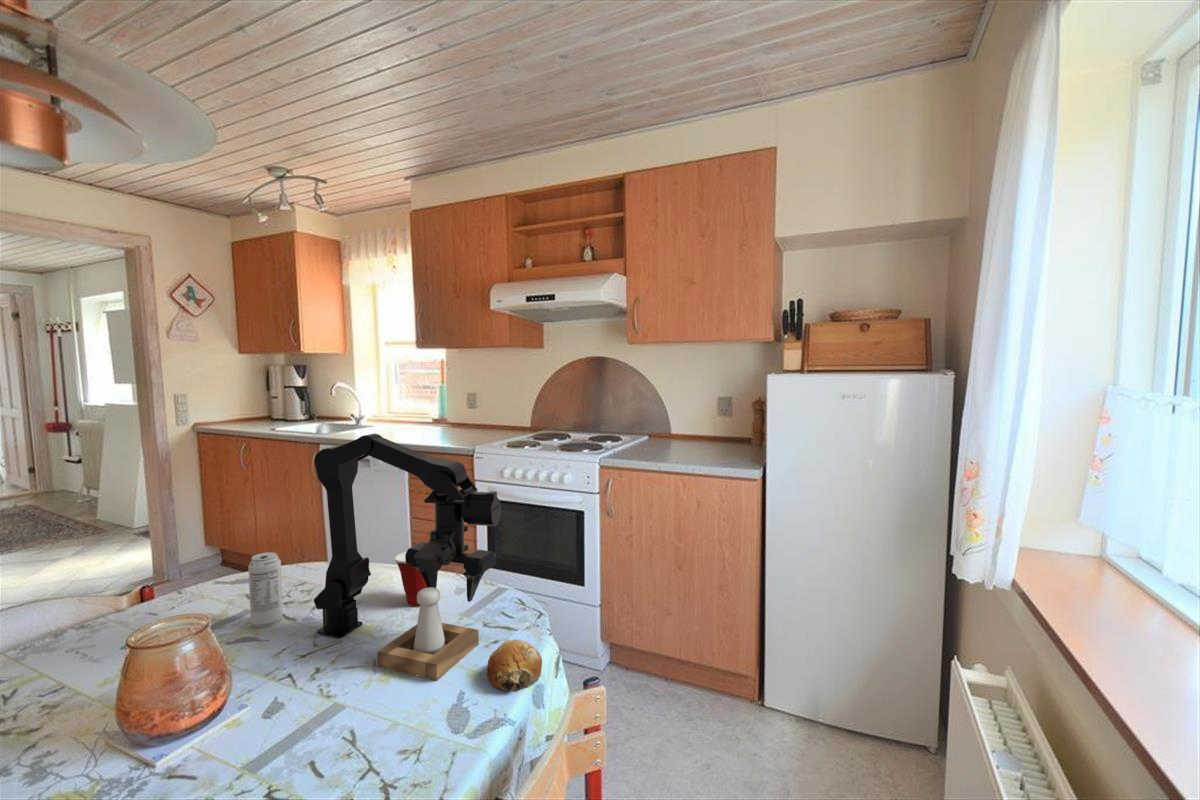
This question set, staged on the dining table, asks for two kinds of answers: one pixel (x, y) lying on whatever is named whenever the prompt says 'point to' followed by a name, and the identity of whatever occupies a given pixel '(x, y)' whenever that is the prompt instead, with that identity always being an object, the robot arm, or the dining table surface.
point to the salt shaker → (429, 622)
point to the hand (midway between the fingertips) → (451, 597)
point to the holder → (423, 664)
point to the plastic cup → (410, 580)
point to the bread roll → (514, 665)
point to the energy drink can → (265, 589)
